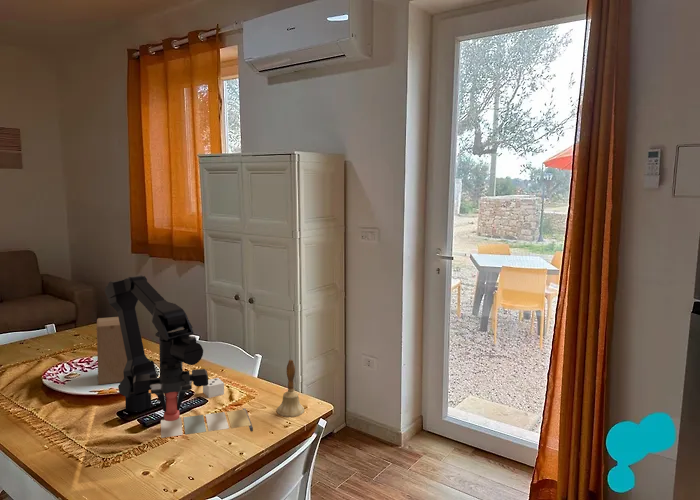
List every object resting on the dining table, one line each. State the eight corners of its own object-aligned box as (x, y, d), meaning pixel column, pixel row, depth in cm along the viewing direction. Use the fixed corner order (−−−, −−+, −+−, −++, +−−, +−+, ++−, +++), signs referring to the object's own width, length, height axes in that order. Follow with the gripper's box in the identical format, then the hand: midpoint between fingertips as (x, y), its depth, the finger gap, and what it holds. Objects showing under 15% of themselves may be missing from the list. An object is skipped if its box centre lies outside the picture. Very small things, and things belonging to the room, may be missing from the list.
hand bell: (282, 419, 145) (283, 366, 143) (272, 407, 152) (273, 357, 150) (308, 414, 149) (310, 363, 147) (298, 402, 156) (299, 353, 154)
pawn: (163, 422, 132) (163, 389, 131) (163, 415, 136) (163, 383, 135) (179, 419, 134) (179, 388, 132) (179, 413, 137) (178, 382, 136)
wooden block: (131, 381, 167) (130, 323, 164) (98, 385, 162) (96, 326, 160) (130, 370, 176) (129, 315, 173) (98, 374, 171) (96, 317, 168)
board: (159, 444, 129) (159, 439, 129) (159, 422, 140) (159, 418, 140) (252, 430, 138) (252, 426, 137) (245, 411, 149) (245, 407, 148)
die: (208, 401, 154) (208, 386, 154) (202, 395, 158) (202, 380, 158) (224, 398, 157) (224, 382, 156) (218, 392, 161) (218, 377, 160)
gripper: (131, 369, 122) (132, 429, 124) (210, 362, 128) (210, 419, 130) (133, 354, 132) (134, 409, 134) (206, 348, 139) (206, 401, 141)
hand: (171, 410), depth 135 cm, fingers closed on pawn, 3 cm apart
